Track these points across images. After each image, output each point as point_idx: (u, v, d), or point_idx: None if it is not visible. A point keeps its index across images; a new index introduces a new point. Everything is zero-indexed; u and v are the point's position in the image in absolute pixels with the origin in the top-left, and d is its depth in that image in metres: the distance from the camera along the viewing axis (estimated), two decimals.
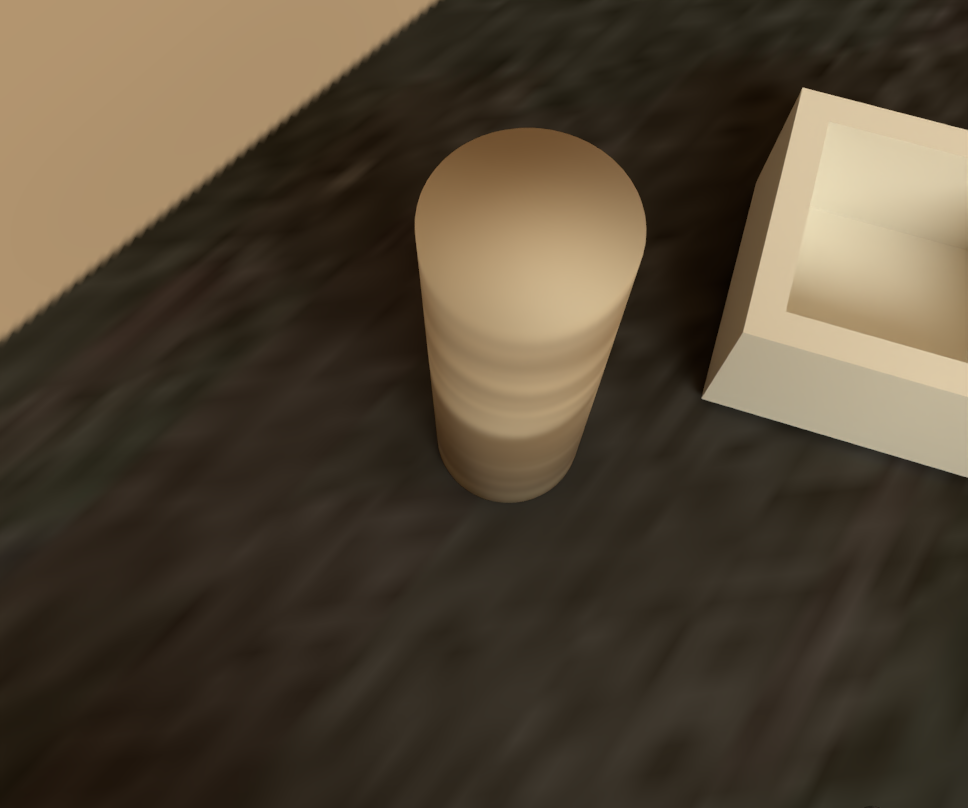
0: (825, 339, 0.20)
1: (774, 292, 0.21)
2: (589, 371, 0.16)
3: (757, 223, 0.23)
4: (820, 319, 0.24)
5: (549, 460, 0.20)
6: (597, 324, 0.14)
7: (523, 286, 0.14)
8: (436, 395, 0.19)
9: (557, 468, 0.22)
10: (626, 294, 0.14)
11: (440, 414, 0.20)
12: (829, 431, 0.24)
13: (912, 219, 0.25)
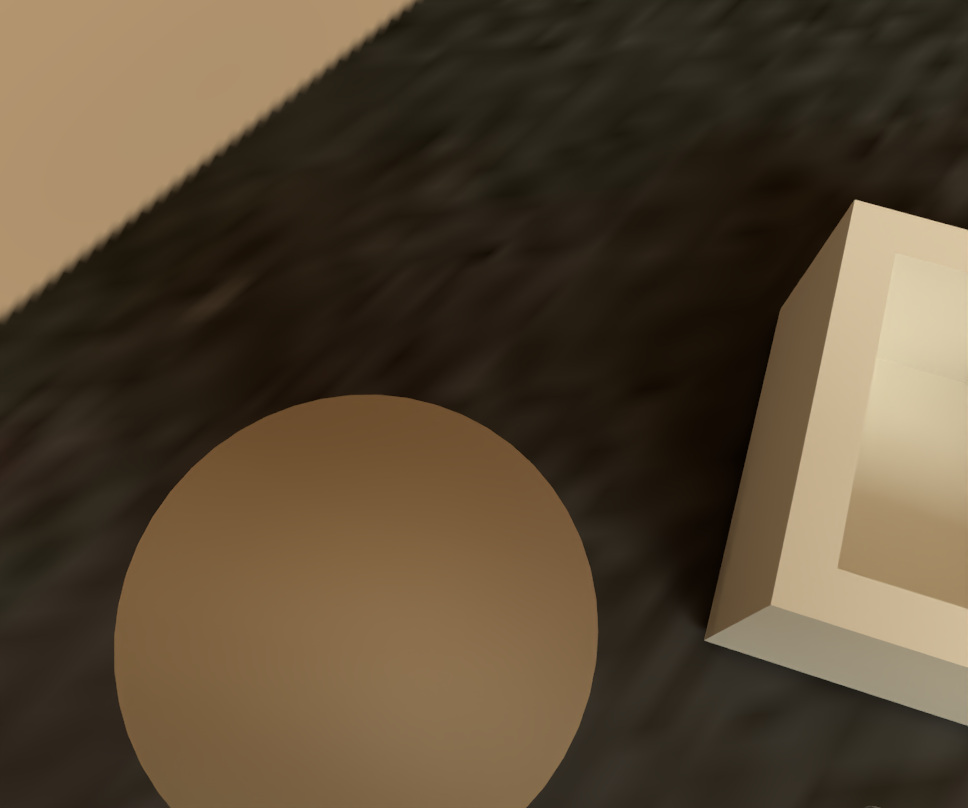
0: (900, 617, 0.13)
1: (819, 535, 0.13)
2: None
3: (786, 393, 0.16)
4: (876, 524, 0.17)
5: None
6: None
7: (332, 776, 0.07)
8: None
9: None
10: None
11: None
12: (891, 697, 0.16)
13: None
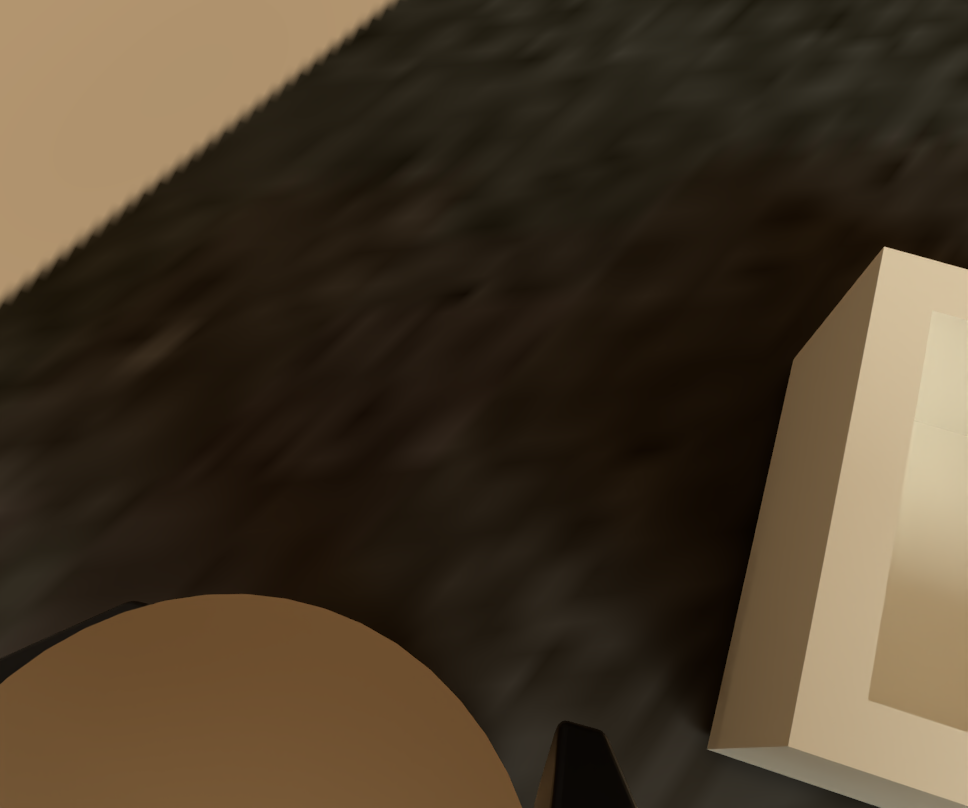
0: (944, 761, 0.11)
1: (845, 658, 0.11)
2: None
3: (803, 469, 0.14)
4: (904, 614, 0.15)
5: None
6: None
7: None
8: None
9: None
10: None
11: None
12: None
13: None
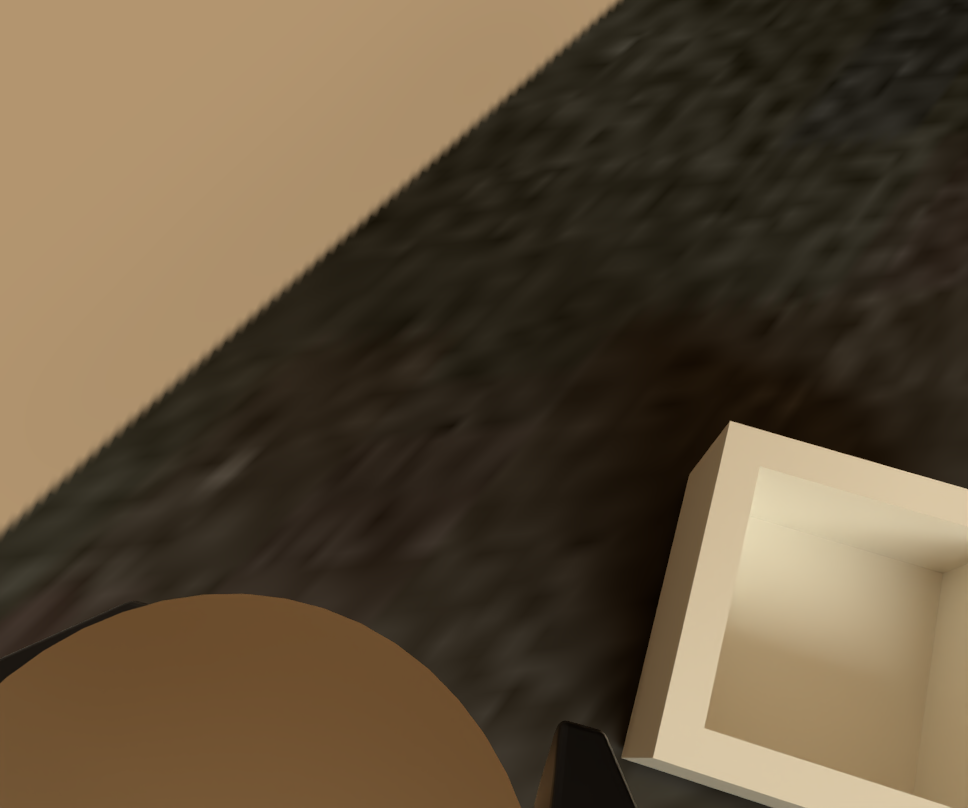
0: (750, 766, 0.17)
1: (691, 701, 0.18)
2: None
3: (681, 566, 0.20)
4: (757, 663, 0.21)
5: None
6: None
7: None
8: None
9: None
10: None
11: None
12: (766, 804, 0.20)
13: (863, 540, 0.22)
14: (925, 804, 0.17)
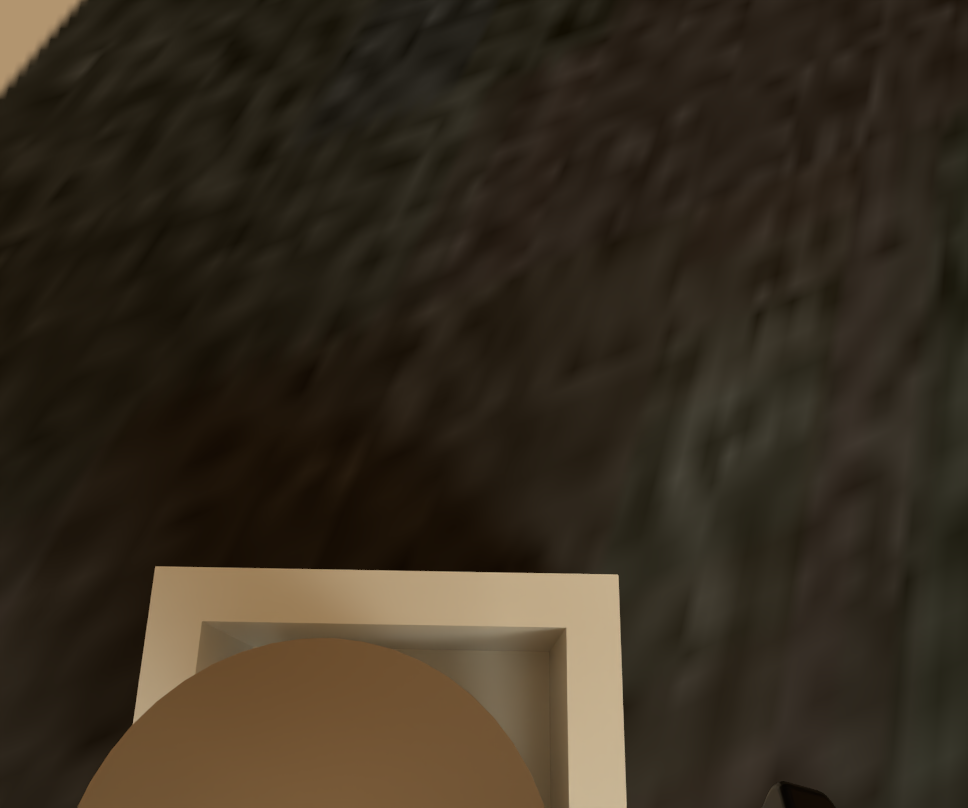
0: None
1: None
2: None
3: None
4: None
5: None
6: None
7: None
8: None
9: None
10: None
11: None
12: None
13: (429, 645, 0.16)
14: None
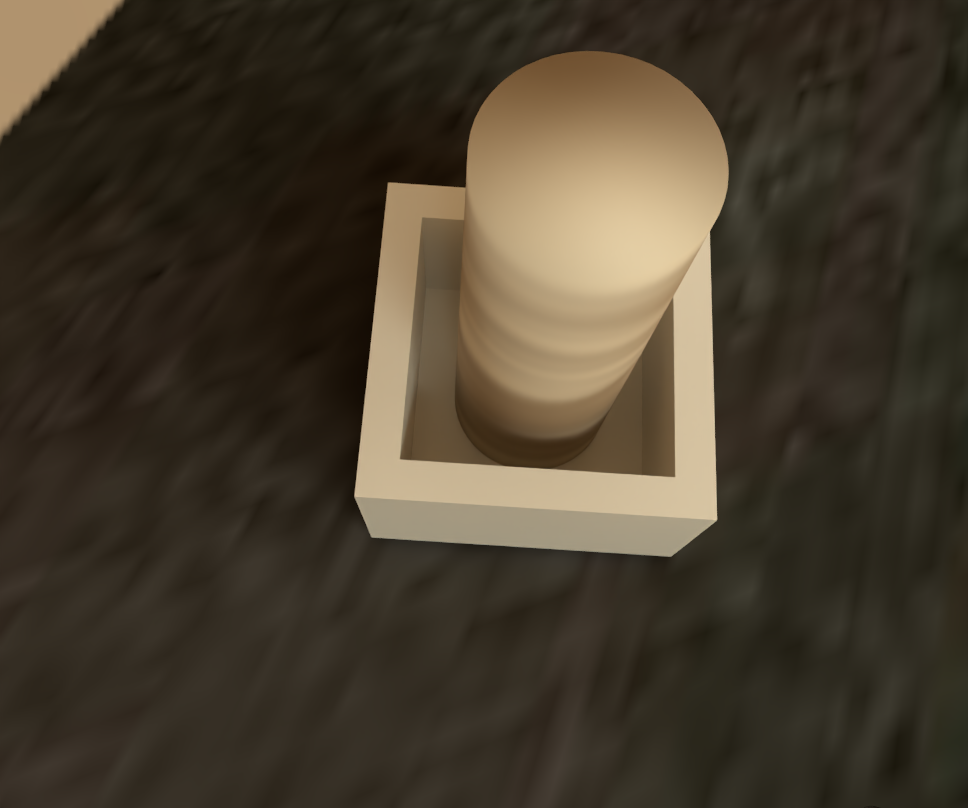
0: (447, 482, 0.18)
1: (384, 439, 0.18)
2: (645, 331, 0.15)
3: None
4: None
5: (581, 427, 0.19)
6: (667, 278, 0.13)
7: (589, 230, 0.12)
8: (465, 351, 0.18)
9: (586, 436, 0.20)
10: (701, 245, 0.13)
11: (467, 372, 0.18)
12: (512, 543, 0.21)
13: None
14: (613, 478, 0.18)
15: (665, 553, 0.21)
